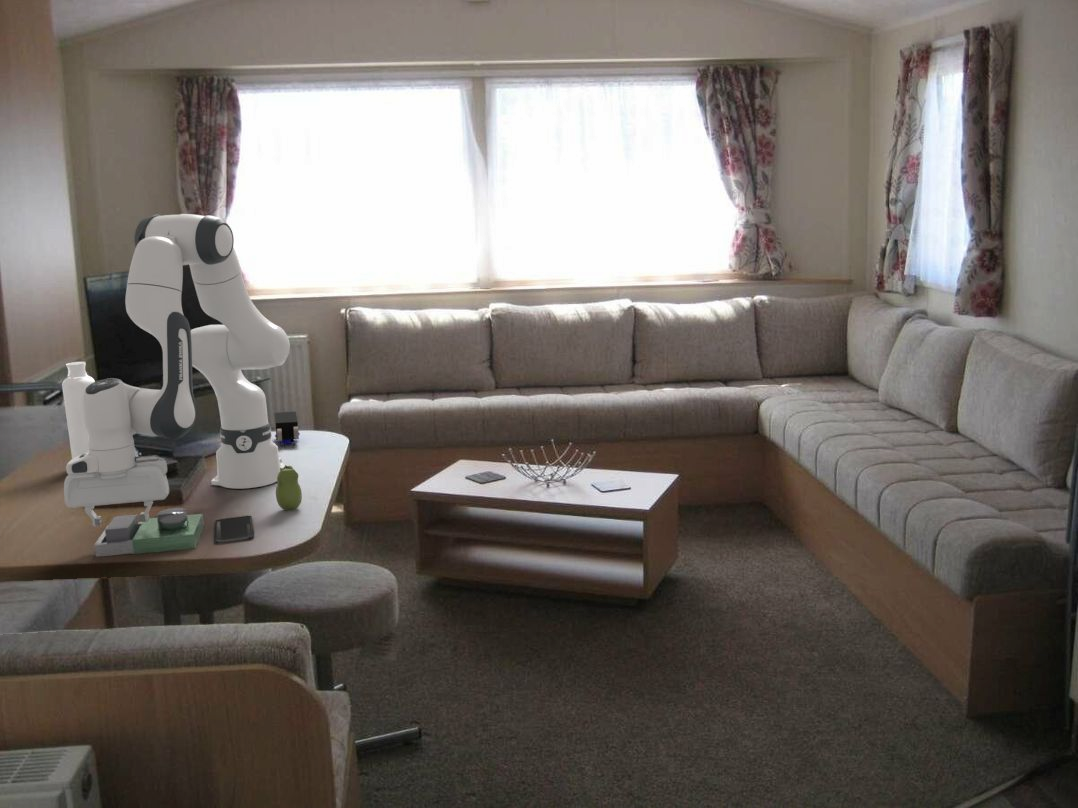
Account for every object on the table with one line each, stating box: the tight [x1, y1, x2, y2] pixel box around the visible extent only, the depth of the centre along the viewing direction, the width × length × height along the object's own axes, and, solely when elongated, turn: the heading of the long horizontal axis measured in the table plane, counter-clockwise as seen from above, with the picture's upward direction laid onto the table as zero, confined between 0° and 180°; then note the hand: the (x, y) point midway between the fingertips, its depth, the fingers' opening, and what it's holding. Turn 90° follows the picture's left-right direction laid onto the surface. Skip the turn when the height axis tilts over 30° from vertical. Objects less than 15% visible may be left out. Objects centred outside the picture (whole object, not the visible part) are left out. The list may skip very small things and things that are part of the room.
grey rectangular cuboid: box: [104, 514, 139, 542], centre depth 232 cm, size 9×4×5 cm, turn 8°
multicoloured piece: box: [93, 507, 205, 558], centre depth 233 cm, size 14×20×6 cm
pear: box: [275, 464, 303, 511], centre depth 250 cm, size 6×5×10 cm
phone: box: [214, 515, 255, 545], centre depth 238 cm, size 8×1×15 cm
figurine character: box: [273, 411, 300, 447], centre depth 313 cm, size 7×8×15 cm
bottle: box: [61, 361, 96, 460], centre depth 293 cm, size 8×8×28 cm
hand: (121, 523), depth 232 cm, fingers open, 8 cm apart
